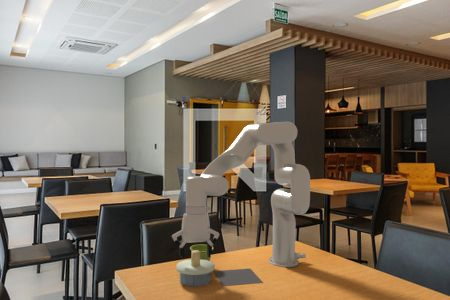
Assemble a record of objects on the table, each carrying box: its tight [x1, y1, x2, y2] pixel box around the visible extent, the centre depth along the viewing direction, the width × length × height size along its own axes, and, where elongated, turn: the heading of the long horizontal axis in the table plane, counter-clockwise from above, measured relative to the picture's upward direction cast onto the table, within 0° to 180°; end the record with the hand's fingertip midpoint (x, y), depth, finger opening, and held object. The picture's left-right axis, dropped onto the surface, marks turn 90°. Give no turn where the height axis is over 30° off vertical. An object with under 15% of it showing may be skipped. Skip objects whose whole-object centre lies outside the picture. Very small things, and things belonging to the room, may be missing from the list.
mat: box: [213, 268, 264, 287], centre depth 134 cm, size 15×15×1 cm
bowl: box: [179, 272, 212, 287], centre depth 130 cm, size 11×11×5 cm
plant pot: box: [189, 243, 214, 261], centre depth 143 cm, size 9×9×9 cm
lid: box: [175, 250, 216, 275], centre depth 130 cm, size 14×14×6 cm
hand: (195, 257), depth 130 cm, fingers open, 9 cm apart
